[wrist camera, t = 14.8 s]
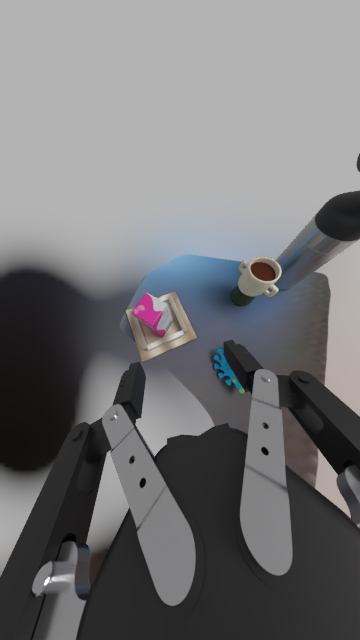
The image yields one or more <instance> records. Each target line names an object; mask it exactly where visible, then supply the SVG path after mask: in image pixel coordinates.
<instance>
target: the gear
mask: <svg viewBox="0 0 360 640" xmlns="http://www.w3.org/2000/svg"><path fill="white" fill-rule="evenodd" d="M217 351H218V353H219V354H220V355H221V358H222V360H220V358H219V355H215V356H214V360H217V361H218V362H219V363H220V364H221V366H220V365H219V364H218V363H216V364H214V368H215V369H221V370H223V371H224V373H222V372H220V373H218V376H219V378H223V377H224V376H229V377H230V379H227V380H226V381H225V382H226V383H227V384H228V385H229V386H230V385H231V384H232V382H233V383H236V384H235V387H237V388H240V389H239V392H240V393H244V392H245V391H244V389H243V388H242V386H241V384H240V383H239V381H238V379H237V378H236V376H235V374H234V373H233V371H232V369H231V368H230V366H229V364H228V363H227V361H226V359H225V356H224V354H223V348H220V349H218V350H217Z"/></svg>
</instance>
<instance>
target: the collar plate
mask: <svg viewBox="0 0 360 640" xmlns="http://www.w3.org/2000/svg"><path fill="white" fill-rule="evenodd" d="M158 299H160V300H161V301H163V302H165V303H167V304H168V307H169V310H170V313H171V316H172V319H173V322H172V324H171V325H170V327H169V328H168V330H167V331H166V333H165V334H164V336H163V337H161V336H160V335H158V334H157V333H155V332H153V331H152V330H150V329H149V328H147V327H146V326H145V325H144V324H143V323H142V322H140V321H139V320H138V319H137V318H136V317H135V316H134V315H133V314H132V313H131V312H132V311H133V309H134V308H135V307H133V308H131V309H128V310H126V313H127V316H128V319H129V322H130V326H131V329H132V332H133V335H134V338H135V341H136V344H137V347H138V350H139V353H140V357H141V360H142V362H144V361H146V360H148V359H151V358H153V357H155V356H158V355H160V354H162V353H164V352H167V351H169V350H171V349H173V348H176V347H178V346H180V345H183V344H185V343H187V342H189V341H192V340H194V339H196V338H197V337H196V335H195V332H194V330H193V328H192V326H191V324H190V322H189V320H188V318H187V316H186V314H185V312H184V310H183V307H182V305H181V303H180V301H179V299H178V297H177V295H176V293H175V291H174V292H171V293H169V294H166V295H164V296H161V297H159V298H158Z"/></svg>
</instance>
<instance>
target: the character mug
mask: <svg viewBox="0 0 360 640" xmlns="http://www.w3.org/2000/svg"><path fill="white" fill-rule="evenodd" d="M243 266H246V269H243ZM238 270H239V271H240V272H241V273H242V275H241V276H240V278H239V282H238V286H237V287H236V288H235V289H234V290H233V291H232V295H231V297H232V300H233V301H234V302H235V303H236V304H238V305H240V306H243V305H248V304H250V303H251V301H252V300H253V299H254V297H255V296H258V295H261V294H263V293H264V294H265V295H266V296H267V297H272V296H273V295H275V294H276V293H277V292H278V291H279V289H278V288H277V287H276V286H275V285H274V283H275V282H276V281H277V280H278V279H279V278H280V276H281V272H282V270H281V267H280V265H279V264H278V262H277V261H275V260H274V259H272V258H269V257H264V256H263V257H256V258H254V259H252V261H251V262H250V263H248V262H247V261H246V260H243V261H242V263H241V264H240V266H239V268H238ZM269 288H270V289H271V290H273V291H272V292H269V291H268V289H269Z"/></svg>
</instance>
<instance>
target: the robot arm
mask: <svg viewBox="0 0 360 640" xmlns="http://www.w3.org/2000/svg"><path fill="white" fill-rule="evenodd" d="M357 169H358V171H359V172H360V154H359V156H358V160H357ZM359 239H360V191H355V192H348V193H343V194H340V195H337V196H335V197H333V198H332V199H330V200H329V201H328V202H327V203H326V204H325V205H324V206H323V207H322V208H321V209H320V211H319V212H318V213H317V214H316V215H315V216H314V217H313V219H312V220H311V221H310V222H309V223H308V224H307V225H306V226H305V228H304V229H303V230H302V231H301V232H300V233H299V234H298V236H297V237H296V238H295V239H294V240H293V241H292V242H291V243H290V245H289V246H288V247H287V248H286V249H285V250H284V251H283V253H282V254H281V255H280V256H279V257H278V258H277V260H275V261H277V262H278V264H279V265H280V267H281V270H282V272H281V276H280V278H279V279H278V280H277V281H276V282H275V283H274V285H275V286H276V287H277V288H278V289H280V290H287V289H290V288H292V287H293V286H294V285H296V284H297V283H299V282H300V281H302V280H303V279H304V278H306V277H307V276H309V275H310V274H311V273H313V272H314V271H316V270H317V269H319V268H320V267H321V266H323V265H324V264H326V263H327V262H328V261H330V260H331V259H333V258H334V257H335V256H337V255H338V254H340V253H341V252H342V251H344V250H345V249H346V248H348V247H349V246H351V245H352V244H354V243H355V242H356V241H358V240H359ZM224 356H225V359H226V361H227V363H228V364H229V366H230V368H231V369H232V371H233V373H234V374H235V376H236V378H237V379H238V381H239V383H240V384H241V386H242V388H243V389H244V391H245V392H249V391H250V392H251V394H252V402H251V411H250V420H249V430H248V434H246V433H244V432H242V431H240V430H237V429H234V428H230V427H229V425H228V423H227V424H223V425H219V426H215V427H213V428H211V429H209V430H208V431H206V432H204V433H203V434H201V435H199V436H192V435H180V436H175V437H172V438H168V439H167V445H165V446H164V447H163V448H162V449H161V450H160V451H159V452H158V453H157V454H156V456H154V455H153V453H152V452H151V450H150V449H149V447H148V445H147V444H146V442H145V440H144V439H143V437H142V435H141V434H140V432H139V430H138V429H137V427H136V425H135V423H136V419H138V418H141V413H142V405H143V396H144V388H145V380H146V376H145V373H144V370H143V368H142V366H141V364H140V362H136V363H132V364H130V367H129V370H127V371H125V372H124V374H123V375H122V377H121V380H120V384H119V387H118V390H117V393H116V396H115V399H114V402H113V405H112V407H110V408H109V409H108V410H107V411H106V412H105V414H104V416H103V418H101V419H99V420H98V421H96V422H94V423H92V424H91V425H89V424H88V423H86V422H83V423H80V424H78V425H77V426H75V427H74V428H73V429H72V430H71V431H70V433H69V434H68V436H67V437H66V439H65V441H64V443H63V445H62V448H61V450H60V452H59V454H58V456H57V458H56V460H55V462H54V464H53V467H52V469H51V471H50V473H49V475H48V477H47V479H46V482H45V484H44V486H43V488H42V490H41V492H40V495H39V497H38V498H37V501H36V503H35V505H34V507H33V509H32V511H31V513H30V515H29V518H28V520H27V522H26V524H25V526H24V528H23V531H22V532H21V535H20V537H19V539H18V541H17V543H16V545H15V548H14V549H13V552H12V554H11V556H10V558H9V560H8V562H7V564H6V567H5V569H4V571H3V573H2V575H1V577H0V640H360V417H359V416H358V415H357V414H356V413H355V412H354V411H352V410H351V409H350V408H349V407H348V406H347V405H346V404H344V403H343V402H342V401H341V400H340V399H339V398H338V397H336V396H335V395H334V394H333V393H332V392H330V390H328V389H327V388H326V387H325V386H324V385H323V384H322V383H320V382H319V381H318V380H317V379H316V378H315V377H313V376H312V375H311V374H309V373H306V372H304V371H293V372H291V374H290V376H285V375H275V374H274V373H272V372H271V371H269V370H265V369H264V368H263V367H262V366H261V365H260V364H259V363H258V362H257V360H256V359H255V358H254V357H253V356H252V355H251V354H250V353H249V352H248V350H247V349H246V348H245V347H244V346H242V345H240V344H237V345H236V344H235V343H234V341H233V340H229V341H225V342H224ZM279 406H280V407H287V408H288V409H289V410H290V412H291V413H292V414H293V416H294V417H295V418H296V420H297V421H298V422H299V424H300V425H301V426H302V428H303V429H304V430H305V432H306V433H307V434H308V436H309V437H310V438H311V440H312V441H313V442H314V444H315V445H316V446H317V448H318V449H319V450H320V452H321V453H322V454H323V456H324V457H325V458H326V459H327V461H328V462H329V464H330V465H331V466H332V467H333V469H334V470H335V472H336V473H337V474H338V477H337V486H338V489H339V491H340V493H341V495H342V496H343V498H344V500H345V501H346V503H347V505H348V507H349V510H350V514H351V519H350V518H349V517H348V516H347V515H346V514H345V513H344V512H343V511H342V510H341V509H339V508H338V507H337V506H336V505H334V504H333V503H332V502H331V501H329V500H328V499H327V498H326V497H325V496H323V495H322V494H321V493H320V492H318V491H317V490H316V489H315V488H313V487H312V486H311V485H310V484H309V483H307V482H306V481H305V480H304V479H302V478H301V477H300V476H299V475H297V474H296V473H295V472H294V471H293V470H291V469H290V468H289V467H288V466H286V465H285V457H284V441H283V425H282V411H281V408H280V407H279ZM111 449H112V450H111ZM110 450H111V456H112V459H113V462H114V465H115V468H116V470H117V473H118V476H119V479H120V482H121V484H122V487H123V490H124V493H125V495H126V498H127V501H128V504H129V510H128V512H127V514H126V516H125V518H124V520H123V522H122V524H121V526H120V528H119V530H118V532H117V534H116V536H115V538H114V540H113V542H112V544H111V546H110V549H109V551H108V553H107V555H106V557H105V559H104V561H103V563H102V565H101V567H100V569H99V571H98V573H97V575H96V577H95V579H94V582H93V584H92V586H91V589H90V586H89V572H90V559H91V555H90V549H89V546H88V545H87V544H86V541H87V536H88V532H89V527H90V523H91V519H92V515H93V510H94V506H95V501H96V497H97V493H98V488H99V484H100V480H101V475H102V471H103V467H104V462H105V458H106V454H107V452H108V451H110Z"/></svg>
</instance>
